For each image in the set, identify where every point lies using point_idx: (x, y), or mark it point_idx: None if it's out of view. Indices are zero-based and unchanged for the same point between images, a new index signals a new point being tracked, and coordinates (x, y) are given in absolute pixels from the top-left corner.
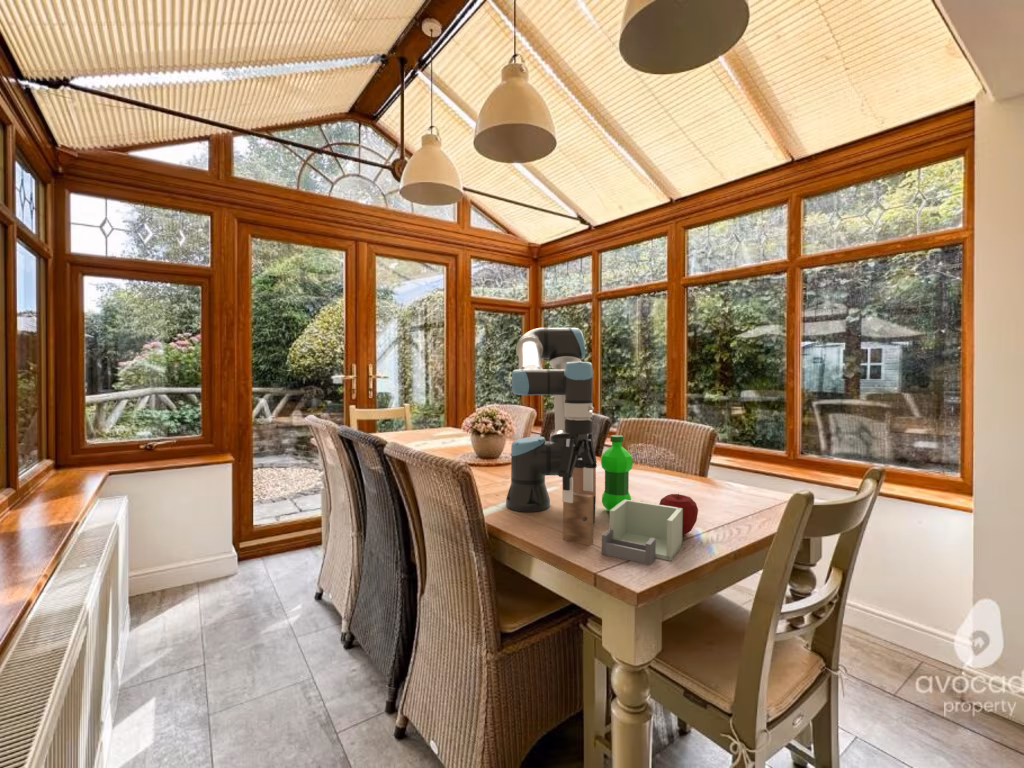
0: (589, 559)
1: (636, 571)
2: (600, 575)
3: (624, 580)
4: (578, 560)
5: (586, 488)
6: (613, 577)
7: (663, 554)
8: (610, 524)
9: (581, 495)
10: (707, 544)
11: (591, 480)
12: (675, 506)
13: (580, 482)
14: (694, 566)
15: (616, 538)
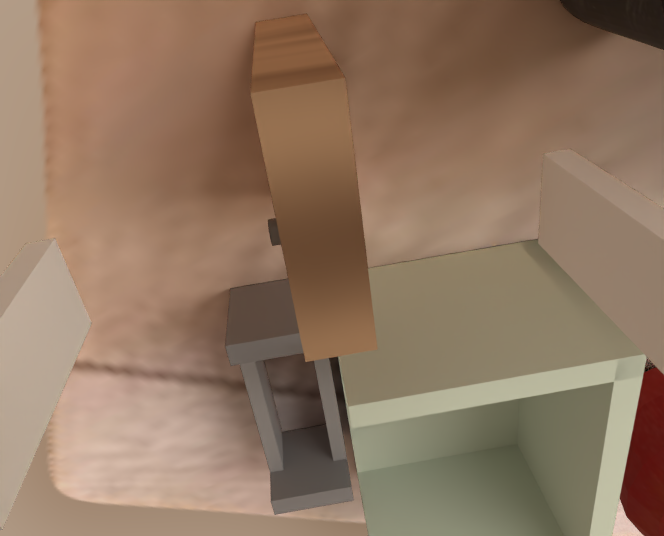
0: (137, 280)
1: (187, 441)
2: None
3: (88, 448)
4: (85, 252)
5: (552, 197)
6: (75, 418)
7: (363, 462)
8: None
9: (308, 280)
10: None
11: (595, 296)
12: (661, 528)
13: None
14: (361, 521)
15: None
